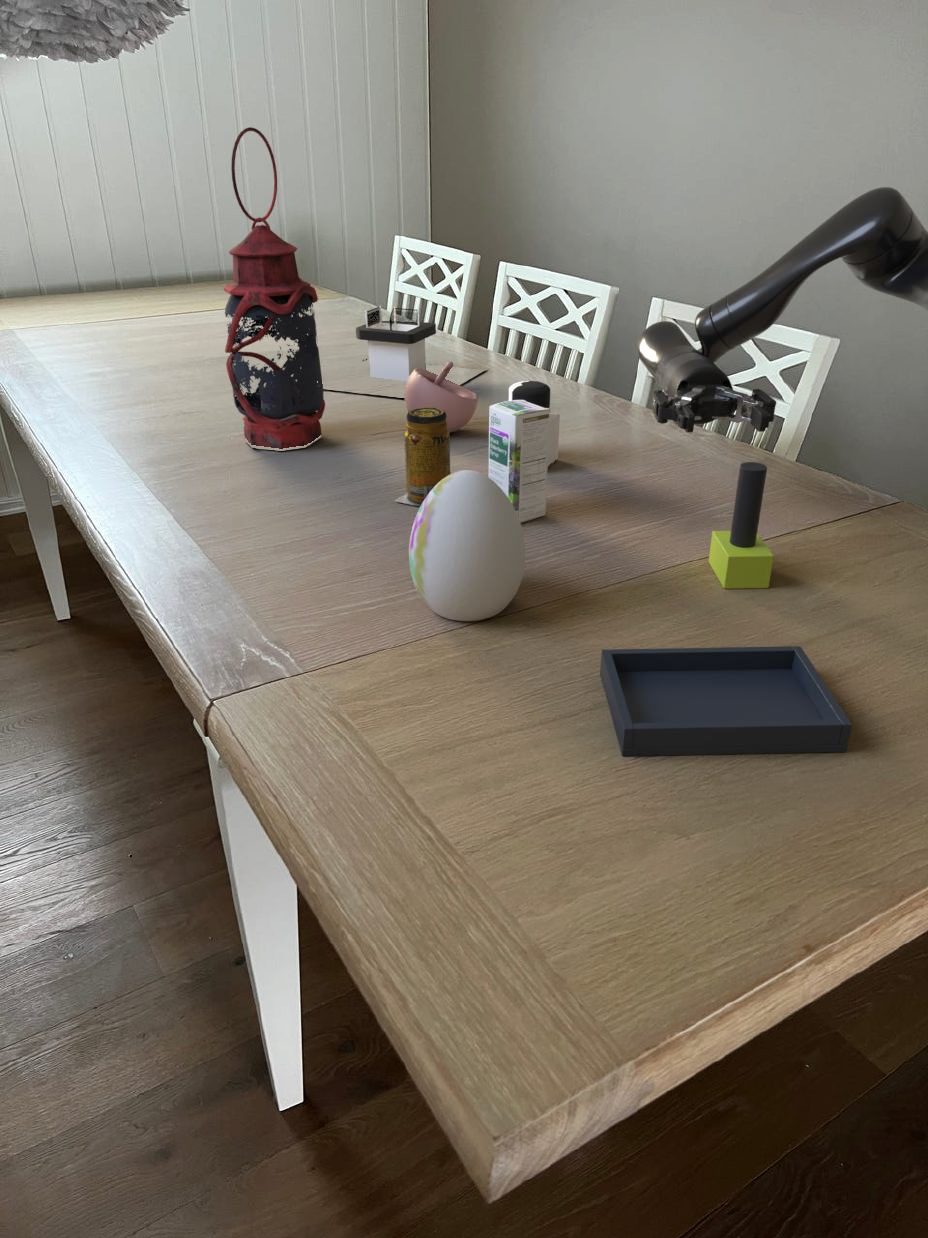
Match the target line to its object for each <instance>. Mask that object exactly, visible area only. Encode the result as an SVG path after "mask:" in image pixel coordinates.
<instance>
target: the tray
mask: <svg viewBox="0 0 928 1238" xmlns="http://www.w3.org/2000/svg"><path fill="white" fill-rule="evenodd" d="M600 655H601V656H600V671H599V676H600V679H601V683H602V687H603V691H604V695H605V698H606V702H607V705H608V709H609V712H610V717H611V720H612V724H613V729H614V732H615V734H616V738H617V742H618V746H619V749H620V750H619V751H620V753H621V756H622V757H645V756H646V757H647V756H649V757H651V756H652V757H653V756H656V757H657V756H699V755H700V756H702V755H703V756H705V755H710V756H711V755H755V754H756V755H758V754H760V755H761V754H811V753H813V754H814V753H815V754H817V753H846V752H847V749H848V745H849V741H850V737H851V732H852V729H853V723H852V721H850V718H848V716H847V714H846V713H845V712H844V710H843V708H842V707H841V705H840V704H839V702H838V701H837V699H836V698H835V696H834V695H833V693H832V692H831V690H830V688H829V687H828V685H827V684H826V683H825V680H823V677H821V675H820V673H819V672H818V671H817V669H816V667H815V666H814V664H813V663H812V661H811V660H810V658H809V656H807V653H806V652H805V651H804V649H803V647H802V646H801V645H799V646H798V645H796V646H795V645H794V646H792V645H787V646H786V645H785V646H783V645H782V646H780V645H779V646H735V647H734V646H731V647H730V646H728V647H727V646H725V647H724V646H723V647H672V648H665V647H664V648H619V649H617V648H614V649H611V648H610V649H601V653H600Z"/></svg>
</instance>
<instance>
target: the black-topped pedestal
mask: <svg viewBox="0 0 928 1238" xmlns="http://www.w3.org/2000/svg"><path fill="white" fill-rule="evenodd" d="M364 313H365V315H364V316H365V324H362V325H360V326H357V327H355V337H356V339H357V340H361V341H367V351H368V358H369V369H370V377H376V378H384V379H392V380H401V381H408V378H409V377H410V375H411V373H412V372H413V371H414V369H417V368H420V369H424V370H426V363H427V362H426V339H427V338H430V337H431V336H434V335H436V334H437V324H436V322H427V321H426V322H424V321H421V319H420V308H417V309H414V308H413V309H412V308H398V307H396V306H393V308H392V310H391V312H390V316H389V320H383V317H382V305H379V306H377V307H375V308H372V309H368V310H365V311H364ZM414 315H415V316H414ZM415 318H416V319H415ZM416 320H417V321H416Z"/></svg>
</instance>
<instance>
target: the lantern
mask: <svg viewBox="0 0 928 1238" xmlns="http://www.w3.org/2000/svg"><path fill="white" fill-rule="evenodd" d="M249 132H254V133H256V134H257V135H258V136H259V137H260V138H261V139H262V141H263V142H264V144H265V146H266V148H267V151H268V153H269V157H270V161H271V163H272V164H271V165H272V171H273V195H272V200H271V204H270V207H269V208H268V211H267V212H266V214H264V216H263V217H257V218H255V217H253V216H252V215H250V214H249V212H248V211H247V209H246V208H245V205H244V204H243V203H242V199H241V196H240V194H239V190H238V187H237V186H238V185H237V181H236V155H237V150H238V146H239V144H240V141H241V139H242V138H243V136H244V135H245V134H246V133H249ZM231 153H232V154H231V165H230V166H231V167H230V168H231V180H232V186H233V187H232V188H233V190H234V194H235V198H236V200H237V203H238V206H239V207H240V209H241V211H242V212H243V214H244V215H245V217H247V219H249V220H250V221H251V222H252V224H251V230H250V232H249V233H247V235H246V236H245V237H244V238H243V239H242V240H241V241H240V242H239V243H238V244H237V245H235V246H233V247H232V248H231V249H230V250H229V251H228V254H229V255H230V256H232V271H233V273H232V274H233V275H232V276H233V278H232V280H233V282H230V283H228V284H227V285H224V286H223V287H222V289H223V291H224V292H225V293H227V294H228V295H229V298H228V300H227V302H226V305H225V309H224V315H225V316H224V318H227V319H230V318H231V322H229V323H227V322H226V324H227V325H226V328H227V332H226V333H227V339H226V344H225V349H224V352H225V353H226V354H229V355H228V357H227V358H226V362H225V365H226V366H225V368H226V372H227V375H228V378H229V382H230V384H231V385H230V386H231V388H232V396H233V402H234V406H235V408H236V409H237V411H238V413H240V414H241V415H243V417H242V420H243V424H244V426H243V433H244V434H243V435H244V439H245V438H246V439H247V440H248V442H249V443H251V445H256V446H264V447H271V448H279V449H283V448H289V447H296V446H304V445H307V444H308V443H311V442H312V441H314V440H315V439H316V438H318V437H319V436H320V435H322V426H321V422H320V420H321V419H322V418H323V415H324V412H325V408H326V401H325V399H324V397H325V396H324V390H323V384H322V378H323V375H322V369H321V367H322V366H321V359H320V358H321V357H320V350H319V346H318V343H319V342H318V341H319V339H317V337H318V335H317V334H318V333H317V323H316V318H315V317H316V315H315V314H316V313H315V312H314V310H315V309H314V304H316V303H317V302H319V301H318V300H319V297H318V294H317V290H316V288H315V287H314V286H312V285H311V283H310V282H307V281H305V280H303V279H302V278H301V277H300V275H299V270H298V266H297V260H296V254H295V253H296V252H297V250H298V247H296V246H295V245H292V244H291V243H289V242H287V241H285V240H284V239H282V238H281V236H280V235H277V233H275V232H274V231H273V230H271V226H270V224H269V223H268V221H267V219H268V218H269V217H270V215H271V214H272V212H273V210H274V208H275V205H276V200H277V194H278V172H277V165H276V160H275V155H274V153H273V151H272V147H271V145H270V143H269V141H268V139H267V138H266V136H265V135H264V133H262V132H261V131H260V130H259V129H257V128H255V127H251V126H249V127H246V128H244V129H243V130H241V131H240V133H239V134H238V136H237V137H236V139H235V142H234V144H233V148H232V152H231ZM257 223H263V224H257ZM240 322H242V324H241V325H240ZM246 329H248V330H246ZM248 337H249V338H248ZM264 337H265V338H267V339H269V337H270V338H274V341H275V342H276V343H279V341H280V340H281V338H282V340H283V341H284V342H286V341H287V340H288V339H289V340H290V341H292V342H293V346H295V345H296V344H297V346H296V347H297V348H298V349H296V351H295V350H294V349H293V348H288V350H287V354H286V356H285V357H286V361H284V363H283V365H282V366H279V365H278V364H277V362H278V361H275V358H274V357H273V358H271V359H270V358H268V357H267V356H265V355H263V354H261V353H257V352H253V351H241V350H242V349H243V348H245V347H247V346H249V345H250V346H251V345H252V344H254V343H256V342H258V341H260V342H262V340H263V339H264ZM245 339H246V340H245ZM286 346H287V347H291V344H286ZM279 349H280V350H282V347H281V345H279ZM280 350H278V351H277V353H276V356H278V357H277V359H278V360H280V359H281V358H282V353H280ZM288 354H289V355H288ZM291 354H292V355H293V356H292V355H291ZM244 357H250V358H255V359H257V360H260V361H261V362H263V363H264V364H263V365H264V366H263V367H261V368H260V369H258V367H257V366H258V365H259V363H257V364H253V365H251V366H249V365H250V362H249V361H250V360H249V359H248V360H247V361H245V358H244ZM269 368H270V370H269ZM251 377H254V380H259V382H258V383H257V387H256V389H254V391H253V392H252V391H251V390H253V388H252V386H251V384H252V383H254V380H253V379H252V378H251ZM317 381H318V383H317ZM251 382H252V383H251ZM244 389H246V392H244Z"/></svg>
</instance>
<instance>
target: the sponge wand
mask: <svg viewBox="0 0 928 1238" xmlns="http://www.w3.org/2000/svg"><path fill="white" fill-rule="evenodd" d="M767 473H768V466H767V465H766V464H764V463H760V462H755V461H747V462H742V463H741V464H740V465H739V471H738V477H737V478H738V479H737V487H736V493H735V500H734V506H733V513H732V514H733V515H732V519H731V521H732V522H731V527H730V530H712V531H711V539H710V548H709V554H708V563H709V566H710V567H711V568H712V570H713V572H714V574H715V576H716V577H717V579H718V581H719V583H720V584H721V586H722V588H723V589H724V590H725V589H726V590H731V589H733V590H734V589H737V590H738V589H769V587H770V581H771V575H772V570H773V563H774V557H775V556H774V554H773V553H772V551H771V550H770V548H769V547H768V546H767V544H766V543H765V542H764V540H763V539H762V538H761V536H760V535H759V533H758V528H759V524H760V523H759V522H760V518H761V517H760V516H761V510H762V505H763V498H764V497H763V496H764V491H765V484H766V478H767Z"/></svg>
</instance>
